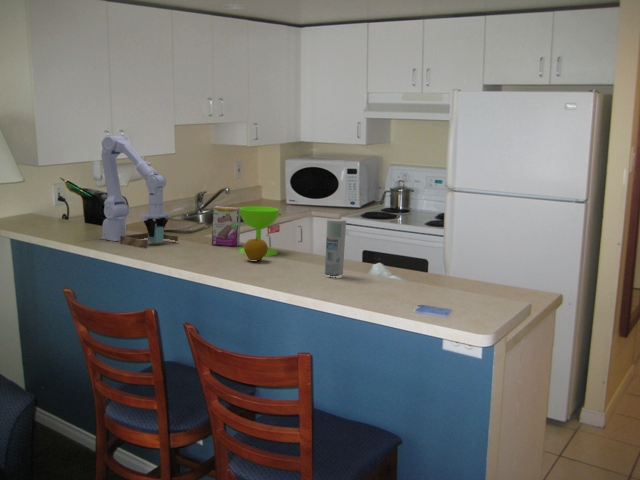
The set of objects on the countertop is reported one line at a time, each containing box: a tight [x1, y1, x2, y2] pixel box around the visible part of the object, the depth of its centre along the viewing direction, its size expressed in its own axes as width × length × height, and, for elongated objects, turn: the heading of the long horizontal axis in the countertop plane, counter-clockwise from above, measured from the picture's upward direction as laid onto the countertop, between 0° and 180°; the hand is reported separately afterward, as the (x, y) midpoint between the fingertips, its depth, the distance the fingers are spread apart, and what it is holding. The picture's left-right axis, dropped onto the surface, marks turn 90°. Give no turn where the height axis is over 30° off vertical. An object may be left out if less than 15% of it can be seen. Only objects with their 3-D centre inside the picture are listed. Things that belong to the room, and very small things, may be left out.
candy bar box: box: [211, 205, 241, 248], centre depth 283 cm, size 11×5×16 cm, turn 84°
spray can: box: [324, 218, 347, 276], centre depth 231 cm, size 6×6×20 cm
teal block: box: [147, 225, 165, 243], centre depth 277 cm, size 5×4×6 cm
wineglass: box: [238, 206, 280, 257], centre depth 270 cm, size 16×16×18 cm
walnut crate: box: [119, 232, 179, 249], centre depth 280 cm, size 15×18×3 cm
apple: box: [243, 237, 269, 261], centre depth 252 cm, size 9×9×9 cm
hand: (155, 236), depth 277 cm, fingers closed on teal block, 4 cm apart
